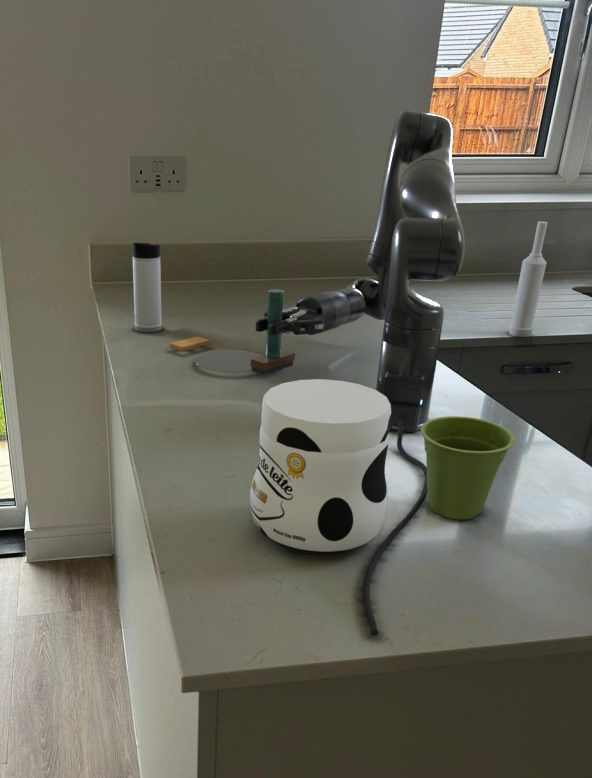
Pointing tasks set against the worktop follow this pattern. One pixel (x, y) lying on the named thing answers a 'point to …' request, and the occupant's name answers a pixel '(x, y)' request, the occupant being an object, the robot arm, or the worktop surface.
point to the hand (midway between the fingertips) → (264, 328)
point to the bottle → (529, 287)
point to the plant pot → (462, 463)
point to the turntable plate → (226, 360)
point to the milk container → (321, 465)
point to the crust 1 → (182, 345)
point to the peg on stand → (273, 340)
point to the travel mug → (147, 287)
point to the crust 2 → (199, 341)
